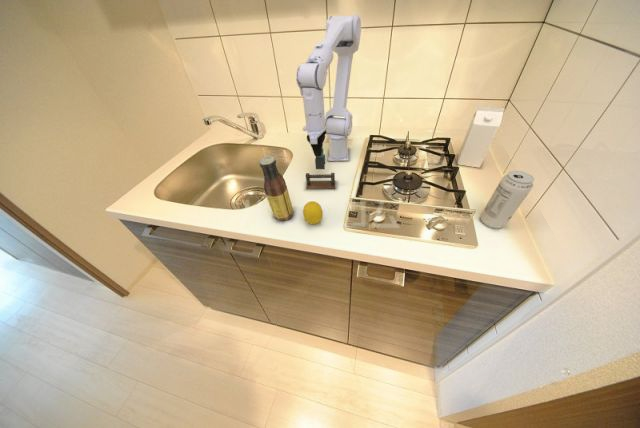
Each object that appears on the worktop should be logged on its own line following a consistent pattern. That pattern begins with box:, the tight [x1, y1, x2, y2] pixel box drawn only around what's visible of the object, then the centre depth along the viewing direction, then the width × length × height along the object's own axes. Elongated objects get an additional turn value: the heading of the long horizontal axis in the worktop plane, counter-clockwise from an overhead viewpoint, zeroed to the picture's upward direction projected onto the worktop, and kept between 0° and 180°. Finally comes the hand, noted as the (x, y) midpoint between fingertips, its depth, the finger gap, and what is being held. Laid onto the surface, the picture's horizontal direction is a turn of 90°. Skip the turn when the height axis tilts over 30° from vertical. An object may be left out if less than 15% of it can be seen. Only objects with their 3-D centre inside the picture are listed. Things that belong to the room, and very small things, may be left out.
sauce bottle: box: [258, 155, 294, 222], centre depth 64 cm, size 6×6×20 cm
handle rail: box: [305, 172, 336, 190], centre depth 78 cm, size 4×10×5 cm, turn 85°
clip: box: [314, 147, 326, 170], centre depth 76 cm, size 4×3×7 cm
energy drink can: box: [480, 170, 535, 230], centre depth 57 cm, size 6×6×15 cm
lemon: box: [302, 200, 324, 225], centre depth 64 cm, size 6×6×8 cm
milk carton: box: [457, 106, 506, 168], centre depth 77 cm, size 7×7×19 cm
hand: (318, 154), depth 75 cm, fingers closed on clip
